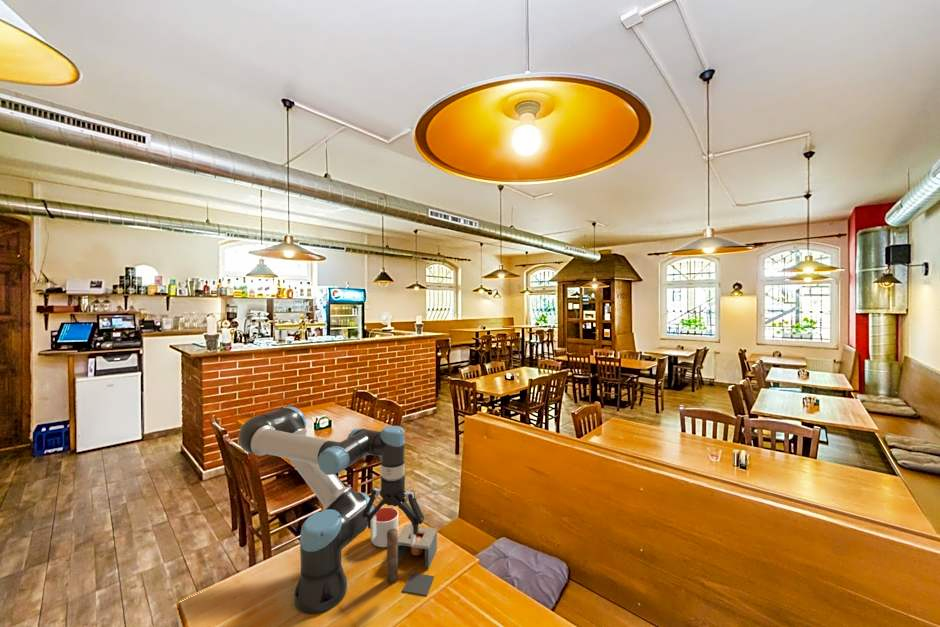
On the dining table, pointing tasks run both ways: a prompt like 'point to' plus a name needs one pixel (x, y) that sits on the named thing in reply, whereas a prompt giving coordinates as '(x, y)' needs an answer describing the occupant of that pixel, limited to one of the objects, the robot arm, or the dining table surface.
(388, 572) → the rod
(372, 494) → the robot arm
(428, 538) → the grey box with hole
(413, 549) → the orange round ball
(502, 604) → the dining table surface
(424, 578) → the coaster
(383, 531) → the cup
